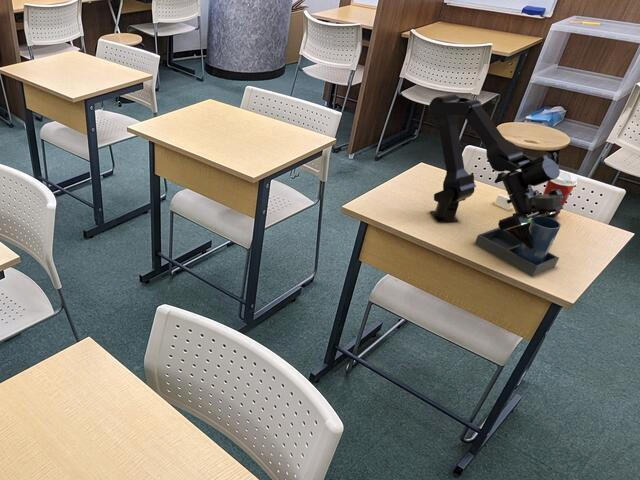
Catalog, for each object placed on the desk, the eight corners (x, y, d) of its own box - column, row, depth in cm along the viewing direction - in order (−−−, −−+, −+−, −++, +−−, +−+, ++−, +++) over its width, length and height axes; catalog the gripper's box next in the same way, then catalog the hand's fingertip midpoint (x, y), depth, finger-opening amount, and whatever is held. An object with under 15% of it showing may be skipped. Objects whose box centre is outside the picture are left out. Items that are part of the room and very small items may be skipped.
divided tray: (474, 244, 163) (478, 234, 161) (495, 236, 166) (499, 226, 164) (532, 277, 150) (537, 267, 148) (554, 267, 153) (559, 257, 151)
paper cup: (563, 222, 172) (583, 182, 164) (537, 220, 173) (555, 180, 165) (554, 210, 178) (572, 171, 170) (528, 208, 180) (545, 169, 171)
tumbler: (511, 253, 158) (528, 214, 150) (538, 257, 156) (556, 217, 149) (516, 266, 153) (534, 226, 145) (544, 270, 151) (563, 230, 143)
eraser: (496, 203, 183) (500, 193, 181) (510, 209, 179) (514, 199, 177) (494, 204, 182) (497, 194, 180) (508, 210, 179) (512, 200, 177)
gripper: (524, 189, 140) (548, 246, 139) (570, 173, 147) (594, 227, 145) (487, 203, 151) (509, 256, 149) (531, 188, 157) (553, 238, 156)
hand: (542, 244), depth 149 cm, fingers open, 8 cm apart
